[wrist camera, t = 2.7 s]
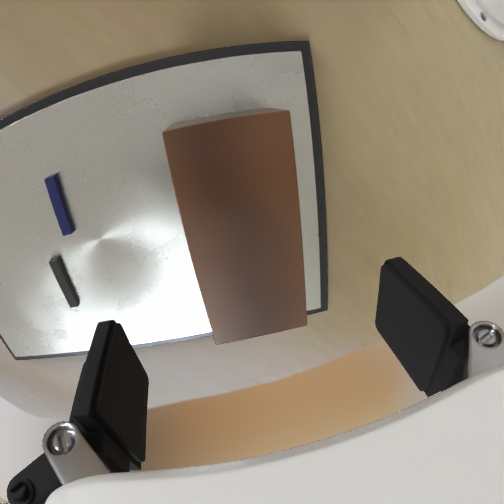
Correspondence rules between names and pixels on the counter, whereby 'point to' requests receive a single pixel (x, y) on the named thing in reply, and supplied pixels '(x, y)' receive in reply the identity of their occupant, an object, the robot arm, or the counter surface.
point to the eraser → (241, 219)
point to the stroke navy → (59, 205)
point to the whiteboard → (136, 196)
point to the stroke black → (64, 282)
